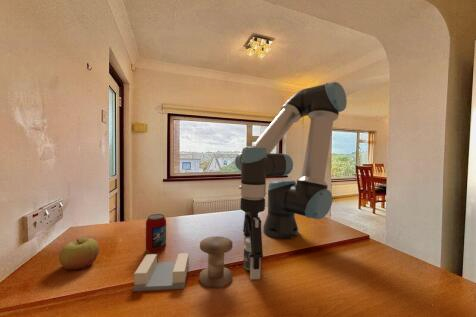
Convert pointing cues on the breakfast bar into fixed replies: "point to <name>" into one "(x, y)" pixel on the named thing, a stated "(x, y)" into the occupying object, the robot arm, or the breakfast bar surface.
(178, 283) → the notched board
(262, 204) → the robot arm
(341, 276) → the breakfast bar surface
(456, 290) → the breakfast bar surface
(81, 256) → the apple
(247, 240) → the pill bottle
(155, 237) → the beverage can
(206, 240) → the bobbin
